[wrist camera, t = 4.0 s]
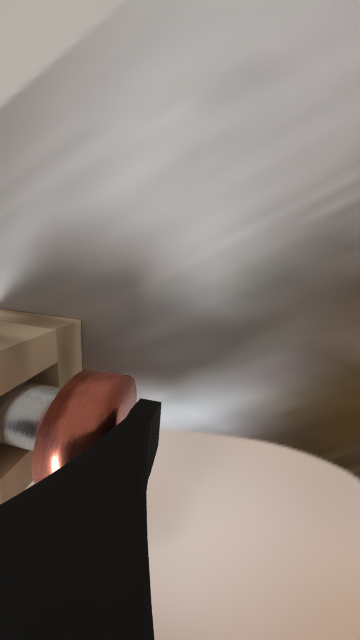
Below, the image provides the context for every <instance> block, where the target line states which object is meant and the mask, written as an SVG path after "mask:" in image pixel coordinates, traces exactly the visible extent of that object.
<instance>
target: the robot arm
mask: <svg viewBox="0 0 360 640" xmlns="http://www.w3.org/2000/svg"><path fill="white" fill-rule="evenodd" d="M160 415H161V402H157V401H152V400H147V399H140V400H139V401H138V402H137V403H136V404H135V405H134V406H133V407H132V408H131V410H130V411H129V413H128V415H127V416H126V418H125V419H123V420H122V421H121V422H120V423H119V424H117V425H116V426H115V427H114V428H113V429H111V430H110V431H109V432H108V433H107V434H105V435H104V436H103V437H102V438H100V439H99V440H98V441H96V442H95V443H94V444H92V445H91V446H90V447H88V448H87V449H86V450H84V451H83V452H82V453H81V454H79V455H78V456H76V457H75V458H74V459H72V460H71V461H69V462H68V463H66V464H65V465H64V466H62V467H61V468H59V469H58V470H56V471H55V472H53V473H52V474H50V475H48V476H47V477H45V478H44V479H42V480H41V481H39V482H38V483H36V484H34V485H33V486H31V487H29V488H28V489H26V490H24V491H23V492H21V493H19V494H18V495H16V496H14V497H13V498H11V499H9V500H7V501H6V502H4V503H2V504H0V640H154V630H153V618H152V605H151V591H150V574H149V557H148V542H147V541H148V540H147V509H146V508H147V506H146V490H147V483H148V478H149V476H150V473H151V469H152V466H153V462H154V459H155V455H156V451H157V447H158V441H159V428H160Z"/></svg>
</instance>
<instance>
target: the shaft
mask: <svg viewBox="0 0 360 640" xmlns="http://www.w3.org/2000/svg"><path fill="white" fill-rule="evenodd" d="M136 396H137V394H136V385H135V381H134V379H133V378H132V377H131V376H128V375H122V374H116V373H110V372H104V371H98V370H93V369H87V370H83V371H81V372H79V373H77V374H76V375H74V376H73V377H72V378H71V379H70V380H69V381H68V382H67V383H66V384H65V385H64V386H63V387H62V388H59V387H54V386H48V385H43V384H38V383H32V382H27V381H25V382H23V383H21V384H20V385H18V386H16V387H15V388H13V389H11V390H10V391H8V392H6V393H5V394H3V395H1V396H0V443H3V444H7V445H11V446H15V447H19V448H24V449H28V450H32V451H33V454H32V464H31V466H32V476H33V480H34V483H35V484H36V483H38V482H39V481H41V480H42V479H44V478H45V477H47V476H48V475H50V474H52V473H53V472H55V471H56V470H58V469H59V468H61V467H62V466H64V465H65V464H66V463H68V462H69V461H71V460H72V459H74V458H75V457H76V456H78V455H79V454H81V453H82V452H83V451H84V450H86V449H87V448H88V447H90V446H91V445H92V444H94V443H95V442H96V441H98V440H99V439H100V438H102V437H103V436H104V435H105V434H107V433H108V432H109V431H110V430H111V429H113V428H114V427H115V426H116V425H117V424H119V423H120V422H121V421H122V420H123V419H125V418H126V416H127V415H128V413H129V411H130V410H131V408H132V407H133V406H134V405H135V404H136Z"/></svg>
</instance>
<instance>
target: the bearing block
mask: <svg viewBox="0 0 360 640" xmlns="http://www.w3.org/2000/svg"><path fill="white" fill-rule="evenodd" d="M81 371H82V344H81V320H78V319H71V318H64V317H56V316H49V315H42V314H34V313H27V312H20V311H13V310H5V309H0V396H1V395H3V394H5V393H6V392H8V391H10V390H11V389H13V388H15V387H16V386H18V385H20V384H21V383H23V382H25V381H27V382H32V383H38V384H43V385H48V386H54V387H59V388H62V387H63V386H64V385H65V384H66V383H67V382H68V381H69V380H70V379H71V378H72V377H73V376H74V375H76V374H77V373H79V372H81ZM32 454H33V451H32V450H28V449H24V448H19V447H15V446H11V445H7V444H3V443H0V504H2V503H4V502H6V501H7V500H9V499H11V498H13V497H14V496H16V495H18V494H19V493H21V492H23V491H24V490H25V489H26V488H27V487H28V486H29V484H30V483H31V482H32V481H33V476H32V466H31V464H32Z"/></svg>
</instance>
